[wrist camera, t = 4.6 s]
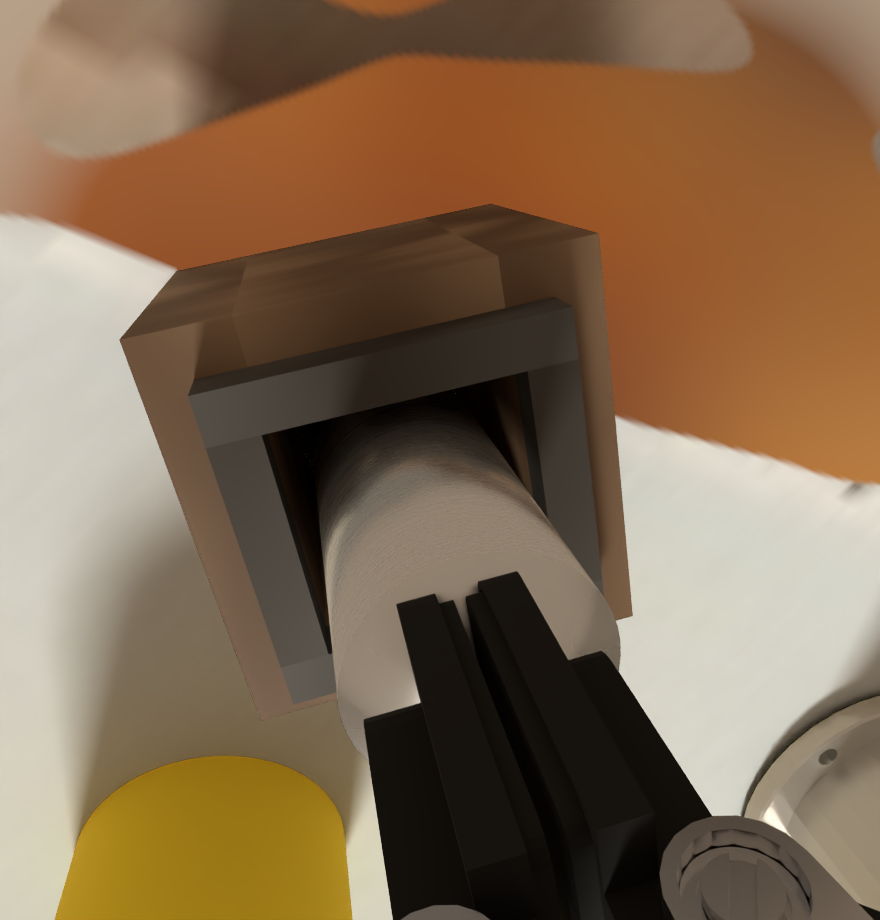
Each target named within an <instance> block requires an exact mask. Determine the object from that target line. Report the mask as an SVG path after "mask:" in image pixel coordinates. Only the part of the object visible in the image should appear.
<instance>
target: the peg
mask: <svg viewBox="0 0 880 920" xmlns="http://www.w3.org/2000/svg"><path fill="white" fill-rule="evenodd" d="M313 465H314V477H315V487H316V496H317V506H318V516H319V525H320V535H321V545H322V554H323V564H324V574H325V584H326V593H327V603H328V613H329V622H330V632H331V642H332V651H333V661H334V671H335V680H336V690H337V700H338V707H339V712H340V716H341V721H342V723H343V725H344V728H345V730H346V733H347V735H348V737H349V738H350V740H351V741H352V743H353V745H354V746H355V748H356V749H357V750H358V751H359V752H360V753H361V754H362V756H363V757H364V758H365V759H366V760H368V761H369V758H368V752H367V745H366V738H365V732H364V719H366V718H370V717H373V716H377V715H380V714H384V713H387V712H391V711H394V710H397V709H401V708H404V707H408V706H411V705H415V704H418V703H420V699H419V695H418V691H417V687H416V683H415V679H414V675H413V671H412V667H411V663H410V659H409V655H408V651H407V647H406V643H405V639H404V635H403V631H402V627H401V623H400V619H399V615H398V610H397V606H396V604H398V603H401V602H405V601H409V600H412V599H416V598H420V597H423V596H427V595H431V594H434V593H435V594H436V597H437V600H438V602H439V603H443V602H446V601H450V600H454V602H455V605H456V607H457V610H458V612H459V615H460V618H461V620H462V623H463V625H464V628H465V630H466V633H467V635H468V638H469V641H470V643H471V646H472V648H473V651H474V653H475V656H476V659H477V655H476V650H475V645H474V640H473V635H472V630H471V625H470V620H469V615H468V610H467V605H466V596H468V595H472V594H476V593H479V592H478V581H482V580H486V579H489V578H493V577H497V576H500V575H504V574H508V573H511V572H515V571H517V572H518V573H519V574H520V576H521V577H522V579H523V581H524V583H525V584H526V586H527V588H528V590H529V592H530V593H531V595H532V597H533V599H534V600H535V602H536V604H537V606H538V607H539V609H540V611H541V613H542V614H543V616H544V618H545V620H546V622H547V623H548V625H549V627H550V629H551V630H552V632H553V634H554V636H555V637H556V639H557V641H558V643H559V645H560V646H561V648H562V650H563V652H564V653H565V655H566V657H567V659H568V660H571V659H574V658H577V657H581V656H584V655H588V654H591V653H595V652H598V651H602V652H604V653H605V654H606V655H607V656H608V657H609V658H610V660H611V661H612V662H613V664H614V666H615V667H616V669H617V670H618V671H619V664H620V656H621V654H620V637H619V631H618V626H617V623H616V621H615V618H614V615H613V612H612V610H611V609H610V607H609V605H608V603H607V601H606V600H605V598H604V597H603V595H602V594H601V593H600V591H599V590H598V588H597V587H596V586H595V584H594V583H593V581H592V580H591V579H590V577H589V576H588V575H587V573H586V572H585V570H584V569H583V568H582V566H581V565H580V563H579V562H578V561H577V559H576V558H575V556H574V555H573V554H572V552H571V551H570V549H569V548H568V547H567V545H566V544H565V542H564V541H563V540H562V538H561V537H560V535H559V534H558V533H557V531H556V530H555V529H554V527H553V526H552V524H551V523H550V522H549V520H548V519H547V517H546V516H545V515H544V513H543V512H542V510H541V509H540V508H539V506H538V505H537V503H536V502H535V501H534V499H533V498H532V496H531V495H530V494H529V492H528V491H527V489H526V488H525V487H524V485H523V484H522V482H521V481H520V480H519V478H518V477H517V476H516V474H515V473H514V471H513V470H512V469H511V467H510V466H509V464H508V463H507V462H506V460H505V459H504V457H503V456H502V455H501V453H500V452H499V450H498V449H497V448H496V446H495V445H494V443H493V442H492V441H491V439H490V438H489V436H488V435H487V434H486V432H485V431H484V430H483V428H482V427H481V425H480V424H479V423H478V421H477V420H476V418H475V417H474V416H473V414H472V413H471V411H470V410H469V409H468V408H467V406H466V405H465V404H464V402H463V401H461V400H460V399H459V398H458V397H457V396H456V395H455V394H454V393H452V392H451V391H449V390H447V391H443V392H439V393H435V394H431V395H426V396H422V397H418V398H414V399H410V400H406V401H401V402H397V403H393V404H389V405H385V406H381V407H376V408H372V409H368V410H364V411H360V412H356V413H351V414H347V415H343V416H339V417H335V418H331V419H326V420H325V421H324V422H323V424H322V426H321V428H320V430H319V433H318V436H317V438H316V443H315V447H314V455H313ZM477 661H478V660H477Z"/></svg>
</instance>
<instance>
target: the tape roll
mask: <svg viewBox="0 0 880 920" xmlns="http://www.w3.org/2000/svg"><path fill="white" fill-rule="evenodd" d="M55 920H352V910H351V899H350V888H349V877H348V867H347V856H346V845H345V834H344V827H343V823H342V820H341V817H340V814H339V812H338V810H337V808H336V806H335V805H334V803H333V802H332V800H331V799H330V798H329V796H328V795H327V794H326V793H325V792H324V791H323V790H322V789H321V788H320V787H319V786H318V785H317V784H315V783H314V782H313V781H311V780H310V779H309V778H307V777H306V776H304V775H302V774H300V773H299V772H297V771H295V770H293V769H290V768H288V767H285V766H283V765H280V764H277V763H274V762H270V761H266V760H262V759H257V758H251V757H242V756H208V757H199V758H193V759H188V760H183V761H179V762H175V763H171V764H168V765H165V766H162V767H159V768H156V769H154V770H151V771H149V772H147V773H144V774H142V775H140V776H138V777H136V778H135V779H133V780H131V781H129V782H128V783H126V784H125V785H123V786H122V787H120V788H119V789H117V790H116V791H115V792H113V793H112V794H111V795H110V796H109V797H107V798H106V799H105V800H104V801H103V802H102V803H101V804H100V805H99V806H98V807H97V808H96V810H95V811H94V812H93V813H92V815H91V816H90V817H89V819H88V820H87V822H86V824H85V825H84V827H83V829H82V831H81V833H80V836H79V838H78V841H77V845H76V848H75V851H74V855H73V858H72V862H71V865H70V869H69V872H68V875H67V879H66V882H65V886H64V889H63V893H62V896H61V899H60V903H59V906H58V910H57V913H56V916H55Z"/></svg>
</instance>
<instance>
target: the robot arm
mask: <svg viewBox="0 0 880 920" xmlns="http://www.w3.org/2000/svg"><path fill="white" fill-rule="evenodd" d="M478 592H479V593H476V594H472V595H468V596H466V605H467V610H468V615H469V620H470V625H471V630H472V635H473V640H474V645H475V650H476V655H477V659H476V656H475V653H474V651H473V648H472V646H471V643H470V641H469V638H468V635H467V633H466V630H465V628H464V625H463V623H462V620H461V618H460V615H459V612H458V610H457V607H456V605H455V602H454V600H450V601H446V602H443V603H439V602H438V600H437V597H436V594H435V593H434V594H431V595H427V596H423V597H420V598H416V599H412V600H409V601H405V602H401V603H398V604H396V606H397V610H398V615H399V619H400V623H401V627H402V631H403V635H404V639H405V643H406V647H407V651H408V655H409V659H410V663H411V667H412V671H413V675H414V679H415V683H416V687H417V691H418V695H419V699H420V703H418V704H415V705H411V706H408V707H404V708H401V709H397V710H394V711H391V712H387V713H384V714H380V715H377V716H373V717H370V718H366V719H364V732H365V738H366V745H367V752H368V758H369V765H370V771H371V778H372V784H373V791H374V797H375V804H376V811H377V817H378V824H379V830H380V837H381V843H382V850H383V856H384V863H385V870H386V876H387V883H388V889H389V896H390V902H391V909H392V916H393V920H880V696H877V697H873V698H870V699H867V700H863V701H860V702H858V703H856V704H853V705H851V706H849V707H847V708H845V709H843V710H840V711H838V712H836V713H834V714H832V715H831V716H829V717H828V718H826V719H824V720H823V721H821V722H820V723H818V724H816V725H815V726H813V727H812V728H810V729H809V730H808V731H807V732H805V733H804V734H803V735H802V736H801V737H799V738H798V739H797V740H796V741H794V742H793V743H792V744H791V745H790V746H789V747H788V748H787V749H786V750H785V751H784V752H783V753H782V754H781V755H780V756H779V757H778V758H777V759H776V760H775V761H774V763H773V764H772V765H771V766H770V768H769V769H768V770H767V772H766V773H765V775H764V776H763V777H762V779H761V780H760V782H759V783H758V785H757V787H756V789H755V791H754V793H753V795H752V797H751V799H750V801H749V803H748V805H747V808H746V812H745V815H744V817H741V816H712V815H711V814H710V812H709V811H708V809H707V808H706V806H705V804H704V803H703V801H702V800H701V798H700V797H699V795H698V794H697V792H696V791H695V789H694V787H693V786H692V784H691V783H690V781H689V780H688V778H687V777H686V775H685V774H684V772H683V770H682V769H681V767H680V766H679V764H678V763H677V761H676V760H675V758H674V757H673V755H672V753H671V752H670V750H669V749H668V747H667V746H666V744H665V743H664V741H663V740H662V738H661V737H660V735H659V733H658V732H657V730H656V729H655V727H654V726H653V724H652V723H651V721H650V720H649V718H648V716H647V715H646V713H645V712H644V710H643V709H642V707H641V706H640V704H639V703H638V701H637V699H636V698H635V696H634V695H633V693H632V692H631V690H630V689H629V687H628V686H627V684H626V683H625V681H624V679H623V678H622V676H621V675H620V673H619V672H618V670H617V669H616V667H615V666H614V664H613V662H612V661H611V660H610V658H609V657H608V656H607V655H606V654H605V653H604V652H602V651H598V652H595V653H591V654H588V655H584V656H581V657H577V658H574V659H571V660H568V659H567V657H566V655H565V653H564V652H563V650H562V648H561V646H560V645H559V643H558V641H557V639H556V637H555V636H554V634H553V632H552V630H551V629H550V627H549V625H548V623H547V622H546V620H545V618H544V616H543V614H542V613H541V611H540V609H539V607H538V606H537V604H536V602H535V600H534V599H533V597H532V595H531V593H530V592H529V590H528V588H527V586H526V584H525V583H524V581H523V579H522V577H521V576H520V574H519V573H518V572H517V571H515V572H511V573H508V574H504V575H500V576H497V577H493V578H489V579H486V580H482V581H478ZM477 660H478V661H477Z"/></svg>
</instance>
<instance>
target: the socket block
mask: <svg viewBox="0 0 880 920" xmlns="http://www.w3.org/2000/svg"><path fill="white" fill-rule="evenodd" d="M120 342H121V345H122V348H123V351H124V353H125V356H126V359H127V361H128V364H129V367H130V369H131V372H132V375H133V378H134V380H135V383H136V386H137V388H138V391H139V394H140V396H141V399H142V402H143V404H144V407H145V410H146V413H147V415H148V418H149V421H150V423H151V426H152V429H153V431H154V434H155V437H156V439H157V442H158V445H159V448H160V450H161V453H162V456H163V458H164V461H165V464H166V466H167V469H168V472H169V474H170V477H171V480H172V483H173V485H174V488H175V491H176V493H177V496H178V499H179V501H180V504H181V507H182V509H183V512H184V515H185V518H186V520H187V523H188V526H189V528H190V531H191V534H192V536H193V539H194V542H195V545H196V547H197V550H198V553H199V555H200V558H201V561H202V563H203V566H204V569H205V571H206V574H207V577H208V580H209V582H210V585H211V588H212V590H213V593H214V596H215V598H216V601H217V604H218V606H219V609H220V612H221V615H222V617H223V620H224V623H225V625H226V628H227V631H228V633H229V636H230V639H231V641H232V644H233V647H234V650H235V652H236V655H237V658H238V660H239V663H240V666H241V668H242V671H243V674H244V677H245V679H246V682H247V685H248V687H249V690H250V693H251V695H252V698H253V701H254V703H255V706H256V709H257V712H258V714H259V717H260V720H264V719H267V718H271V717H274V716H278V715H281V714H285V713H288V712H292V711H296V710H299V709H303V708H306V707H310V706H313V705H317V704H320V703H324V702H328V701H331V700H335V699H337V690H336V680H335V671H334V661H333V651H332V642H331V632H330V622H329V613H328V603H327V593H326V584H325V574H324V564H323V554H322V545H321V535H320V525H319V516H318V506H317V496H316V487H315V478H313V479H312V477H311V474H310V470H309V467H308V463H307V460H306V456H305V453H304V449H303V446H302V442H301V438H300V435H299V431H298V428H297V426H302V425H306V424H310V423H314V422H318V421H322V420H326V419H331V418H335V417H339V416H343V415H347V414H351V413H356V412H360V411H364V410H368V409H372V408H376V407H381V406H385V405H389V404H393V403H397V402H401V401H406V400H410V399H414V398H418V397H422V396H426V395H431V394H435V393H439V392H443V391H447V390H451V389H455V394H456V396H457V397H458V398H459V399H460V400H461V401H463V402H464V404H465V405H466V406H467V408H468V409H469V410H470V411H471V413H472V414H473V416H474V417H475V418H476V420H477V421H478V423H479V424H480V425H481V427H482V428H483V430H484V431H485V432H486V434H487V435H488V436H489V438H490V439H491V441H492V442H493V443H494V445H495V446H496V448H497V449H498V450H499V452H500V453H501V455H502V456H503V457H504V459H505V460H506V462H507V463H508V464H509V466H510V467H511V469H512V470H513V471H514V473H515V474H516V476H517V477H518V478H519V480H520V481H521V482H522V484H523V485H524V487H525V488H526V489H527V491H528V492H529V494H530V495H531V496H532V498H533V499H534V501H535V502H536V503H537V505H538V506H539V508H540V509H541V510H542V512H543V513H544V515H545V516H546V517H547V519H548V520H549V522H550V523H551V524H552V526H553V527H554V529H555V530H556V531H557V533H558V534H559V535H560V537H561V538H562V540H563V541H564V542H565V544H566V545H567V547H568V548H569V549H570V551H571V552H572V554H573V555H574V556H575V558H576V559H577V561H578V562H579V563H580V565H581V566H582V568H583V569H584V570H585V572H586V573H587V575H588V576H589V577H590V579H591V580H592V581H593V583H594V584H595V586H596V587H597V588H598V590H599V591H600V593H601V594H602V595H603V597H604V598H605V600H606V601H607V603H608V605H609V607H610V609H611V610H612V612H613V615H614V618H615V621H616V620H620V619H623V618H627V617H630V616H633V615H632V604H631V592H630V581H629V570H628V558H627V547H626V536H625V525H624V513H623V502H622V491H621V479H620V468H619V457H618V445H617V434H616V423H615V412H614V400H613V390H612V378H611V366H610V356H609V344H608V333H607V322H606V310H605V299H604V287H603V276H602V265H601V253H600V242H599V234H598V233H596V232H592V231H589V230H585V229H581V228H578V227H574V226H570V225H567V224H563V223H559V222H555V221H552V220H548V219H545V218H541V217H537V216H533V215H530V214H526V213H523V212H519V211H515V210H512V209H508V208H504V207H500V206H497V205H493V204H488V205H483V206H479V207H474V208H469V209H465V210H460V211H455V212H451V213H446V214H441V215H437V216H432V217H427V218H423V219H418V220H414V221H409V222H404V223H400V224H395V225H390V226H386V227H381V228H376V229H372V230H367V231H363V232H357V233H353V234H348V235H343V236H339V237H334V238H329V239H325V240H320V241H315V242H311V243H306V244H302V245H297V246H292V247H288V248H283V249H278V250H274V251H269V252H265V253H260V254H255V255H250V256H245V257H241V258H236V259H231V260H227V261H222V262H218V263H213V264H208V265H203V266H199V267H194V268H189V269H185V270H180V271H176V272H175V274H174V275H173V276H172V277H171V278H170V280H169V281H168V282H167V283H166V284H165V286H164V287H163V288H162V289H161V290H160V292H159V293H158V294H157V295H156V296H155V298H154V299H153V300H152V301H151V302H150V304H149V305H148V306H147V307H146V309H145V310H144V311H143V312H142V313H141V315H140V316H139V317H138V318H137V319H136V321H135V322H134V323H133V324H132V325H131V327H130V328H129V329H128V330H127V331H126V333H125V334H124V335H123V336H122V337H121V339H120Z"/></svg>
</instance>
